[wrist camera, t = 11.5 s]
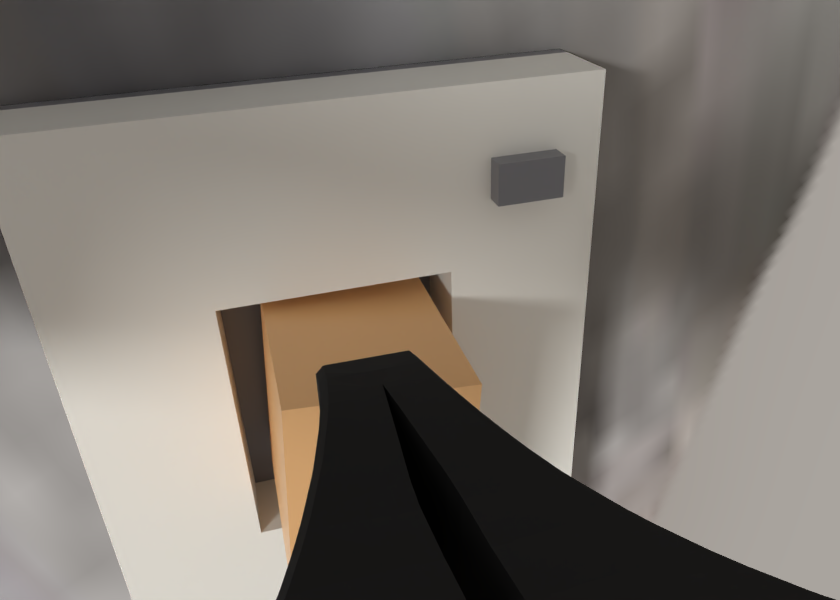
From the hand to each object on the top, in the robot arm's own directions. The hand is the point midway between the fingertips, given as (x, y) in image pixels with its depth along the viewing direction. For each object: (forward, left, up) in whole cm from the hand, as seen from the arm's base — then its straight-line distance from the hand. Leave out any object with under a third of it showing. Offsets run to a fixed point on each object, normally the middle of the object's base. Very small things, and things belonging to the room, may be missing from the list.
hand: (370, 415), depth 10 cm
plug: (+1, -5, -9) cm, 10 cm away
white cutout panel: (+1, -5, -9) cm, 11 cm away
